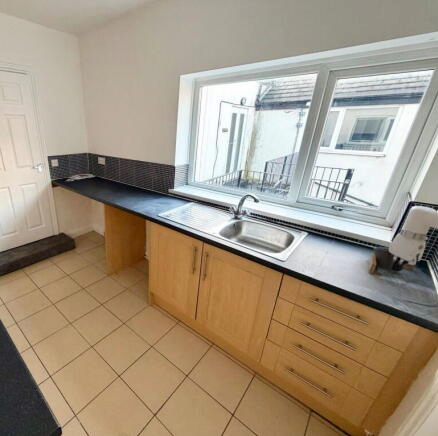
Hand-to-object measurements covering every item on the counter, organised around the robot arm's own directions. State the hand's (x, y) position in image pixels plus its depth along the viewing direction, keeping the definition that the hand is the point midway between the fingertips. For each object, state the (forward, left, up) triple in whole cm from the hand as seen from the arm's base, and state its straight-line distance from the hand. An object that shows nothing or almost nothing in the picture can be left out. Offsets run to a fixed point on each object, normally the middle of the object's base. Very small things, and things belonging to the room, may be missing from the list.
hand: (395, 270), depth 112 cm
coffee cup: (+3, -4, -2) cm, 6 cm away
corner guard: (+1, -3, -3) cm, 4 cm away
